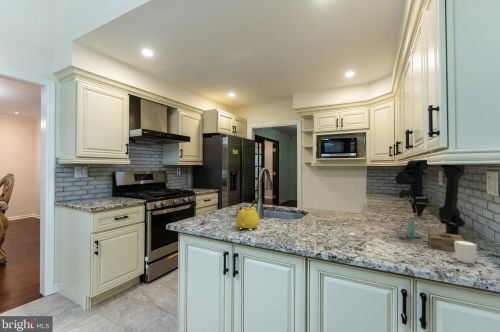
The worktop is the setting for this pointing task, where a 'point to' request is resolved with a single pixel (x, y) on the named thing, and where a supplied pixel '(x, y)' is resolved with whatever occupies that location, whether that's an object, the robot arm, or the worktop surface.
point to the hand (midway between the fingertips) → (416, 214)
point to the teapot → (247, 218)
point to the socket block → (443, 241)
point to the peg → (411, 229)
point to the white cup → (465, 251)
